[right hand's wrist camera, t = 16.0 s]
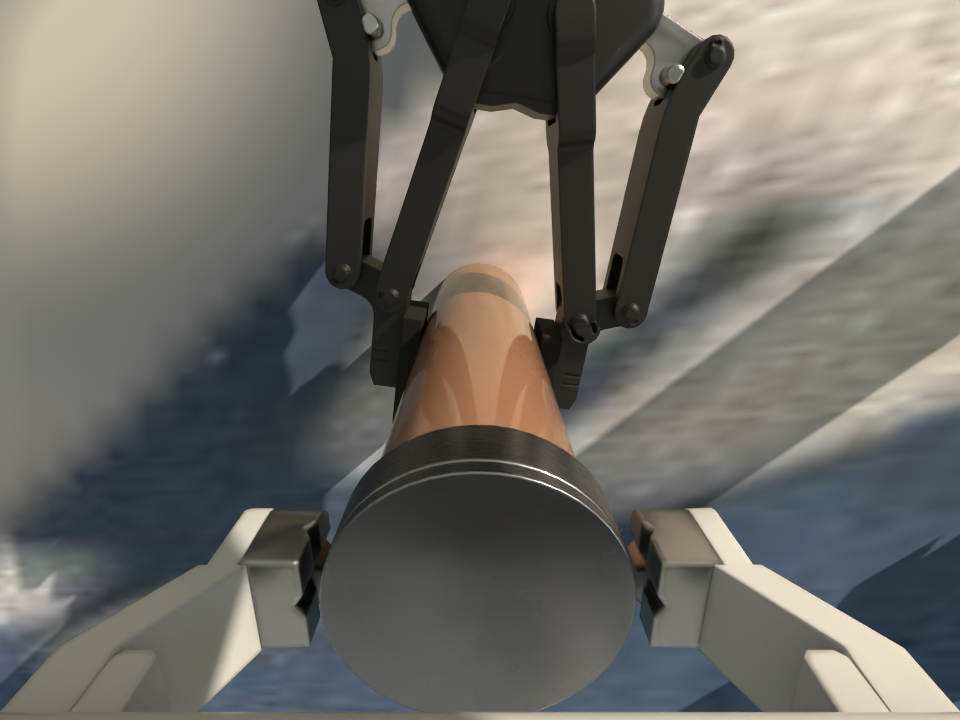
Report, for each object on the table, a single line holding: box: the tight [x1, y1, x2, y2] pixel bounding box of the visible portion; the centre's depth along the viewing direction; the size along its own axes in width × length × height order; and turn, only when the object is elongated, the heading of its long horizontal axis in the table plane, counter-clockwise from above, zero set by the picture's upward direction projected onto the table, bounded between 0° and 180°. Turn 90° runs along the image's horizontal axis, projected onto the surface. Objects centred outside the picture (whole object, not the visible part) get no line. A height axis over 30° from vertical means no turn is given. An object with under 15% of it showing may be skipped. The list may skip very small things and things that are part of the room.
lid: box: [319, 424, 636, 712], centre depth 9 cm, size 5×5×2 cm
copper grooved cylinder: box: [381, 264, 575, 458], centre depth 18 cm, size 5×5×19 cm
